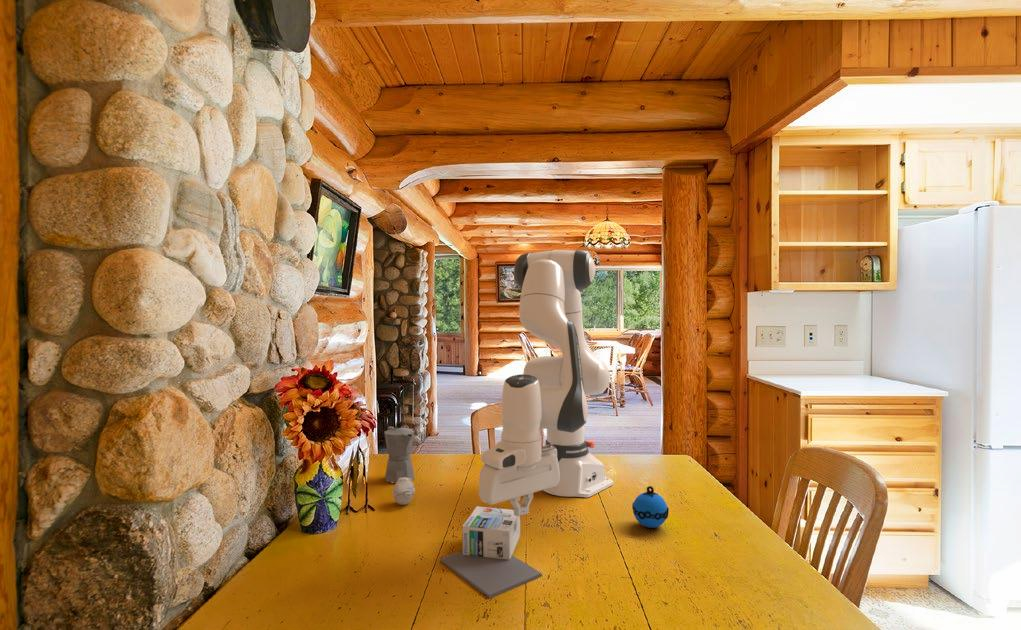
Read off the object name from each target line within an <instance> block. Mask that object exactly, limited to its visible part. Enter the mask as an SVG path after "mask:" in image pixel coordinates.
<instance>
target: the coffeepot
mask: <svg viewBox="0 0 1021 630" xmlns="http://www.w3.org/2000/svg"><path fill="white" fill-rule="evenodd" d="M402 425H403V421H396V426H397V427H394V426H390V425H386V426H385V427H384V429H383V432H382V433H383V438H384V444H385V448H386V451H387V454H388V459H387V461H386V467H385V468H386V469H385V475H384V479H386V480H385V482H386V481H387V482H386V483H388V482H393V483H396V482H397V481H398V479H399V478H403V477H407V478H411V480H412V479H413V480H414V479H415V473H414V472H415V471H414V467H413V462H412V461H413V460H412V458H411V453H412V452H413V445H414V437H415V431H414V429H413V428H407V427H402ZM413 480H412V481H413Z"/></svg>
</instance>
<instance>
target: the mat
mask: <svg viewBox="0 0 1021 630" xmlns="http://www.w3.org/2000/svg"><path fill="white" fill-rule="evenodd" d="M439 560H440V561H439V562H440V563H441V564H443V563H444V564H443V565H444V566H446V567H447V568H449V569H450V570H452V571H453V572H454V573H455V574H457V576H459V577H460V578H461V579H463V580H464V581H466V582H467V583H469V584H470V585H471V586H473V587H474V588H475V589H476V590H478V591H479V592H481V593H482V595H484V596H486V597H487V598H488V599H491V598H494V597H496V596H499V595H500V594H503V593H505V592H508V591H510V590H512V589H515V588H517V587H519V586H521V585H524V584H527V583H528V582H531V581H533V580H536V579H538V578H540V577H542V576H543V575H542V572H540V571H539V570H538V569H535V568H534V567H532V566H531V565H530V564H527V563H526V562H525V561H523V560H521V559H519V558H518V557H516V556H515V555H513V554H512V556H511V558H510V560H506V559H497V558H489V557H481V556H472V555H463V553H462V550H461V551H457V552H455V553H451V554H449V555H446V556H443V557H440V559H439Z"/></svg>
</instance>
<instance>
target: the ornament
mask: <svg viewBox="0 0 1021 630" xmlns="http://www.w3.org/2000/svg"><path fill="white" fill-rule="evenodd" d="M631 508H632V513H633V515H634V518H635V520H636V521H637V522H638V523H639V524H641V526H643V527H645V528H648V529H649V528H650V529H653V528H659V527H660V526H662V525H663V524H664V523H665V522H666V520H667V519H668V517H669V511H670V510H669V507H668V505H667V503H666V501H665V499H664V498H663V496H661V495H660V494H658V493H657V492H655V488H654V487H653V486H651V485H649V486H647V487H646V491H645V492H642V493H640V494H639V495H637V497H635V499H634V501H633V502H632V507H631Z"/></svg>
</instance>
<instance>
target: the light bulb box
mask: <svg viewBox="0 0 1021 630" xmlns="http://www.w3.org/2000/svg"><path fill="white" fill-rule="evenodd" d="M520 538H521V516H516V515H514V509H507V508H497V507H496V508H495V507H487V506H478V505H477V506H475V507H474V510H473V511H472V512H471V514H470V515H469V517H468V518H467V520H466V521H465V522H464V523H463V525H462V549H461V551H462V553H463V555H472V556H481V557H489V558H497V559H506V560H510V558H511V556H512V555H513V554H514V551H515V548H516V546H517V545H518V542H519V539H520Z"/></svg>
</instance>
